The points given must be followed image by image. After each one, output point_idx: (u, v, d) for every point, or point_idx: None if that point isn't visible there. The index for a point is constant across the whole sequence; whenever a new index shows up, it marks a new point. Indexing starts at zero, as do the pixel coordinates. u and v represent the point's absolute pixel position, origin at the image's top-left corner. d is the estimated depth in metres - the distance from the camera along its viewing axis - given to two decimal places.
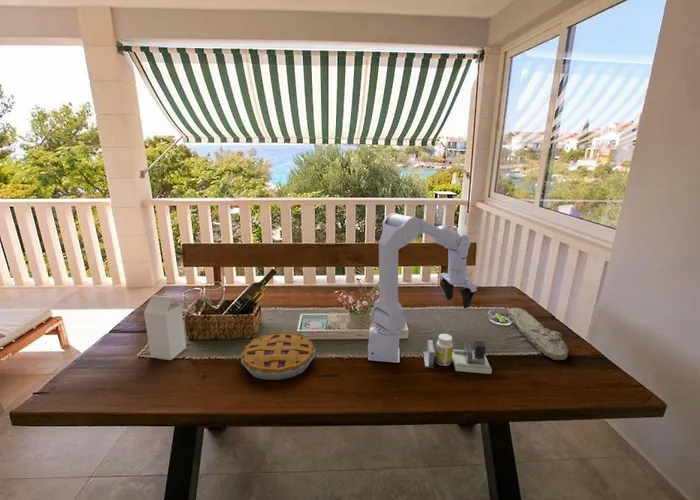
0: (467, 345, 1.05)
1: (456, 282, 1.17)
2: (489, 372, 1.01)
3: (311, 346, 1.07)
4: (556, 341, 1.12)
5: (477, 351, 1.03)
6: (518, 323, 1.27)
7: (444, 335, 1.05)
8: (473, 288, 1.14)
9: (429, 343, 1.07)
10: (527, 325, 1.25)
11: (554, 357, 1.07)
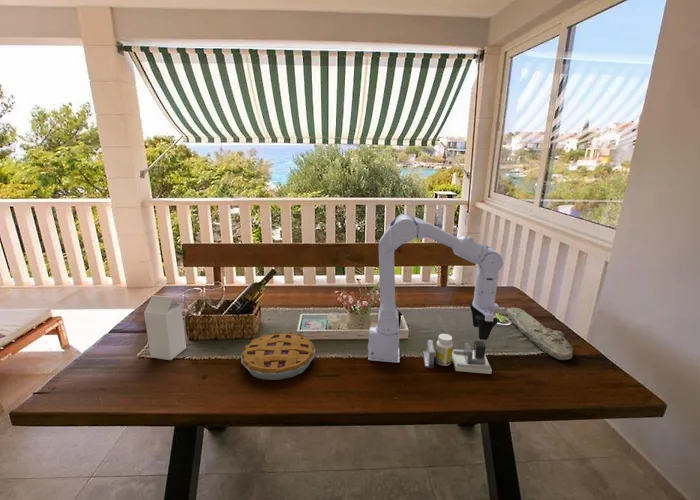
0: (467, 345, 1.05)
1: (476, 305, 1.00)
2: (489, 372, 1.01)
3: (311, 346, 1.07)
4: (560, 341, 1.12)
5: (477, 351, 1.03)
6: (519, 323, 1.27)
7: (444, 335, 1.05)
8: (487, 316, 0.95)
9: (429, 343, 1.07)
10: (528, 325, 1.25)
11: (560, 357, 1.07)
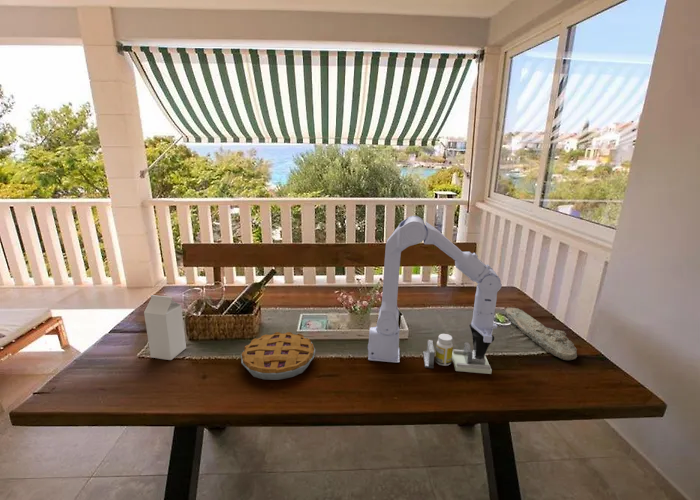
0: (467, 345, 1.05)
1: (475, 325, 1.01)
2: (489, 372, 1.01)
3: (311, 346, 1.07)
4: (563, 341, 1.13)
5: None
6: (520, 324, 1.27)
7: (444, 335, 1.05)
8: (485, 338, 0.95)
9: (429, 343, 1.07)
10: (529, 325, 1.25)
11: (565, 357, 1.07)
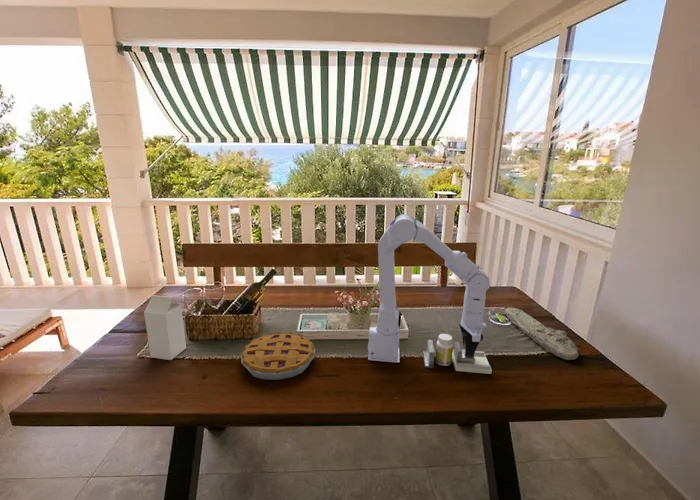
0: (457, 344, 1.06)
1: (464, 324, 1.01)
2: (489, 372, 1.01)
3: (311, 346, 1.07)
4: (564, 340, 1.13)
5: None
6: (520, 324, 1.27)
7: (444, 335, 1.05)
8: (474, 337, 0.96)
9: (429, 343, 1.07)
10: (529, 325, 1.25)
11: (567, 357, 1.07)
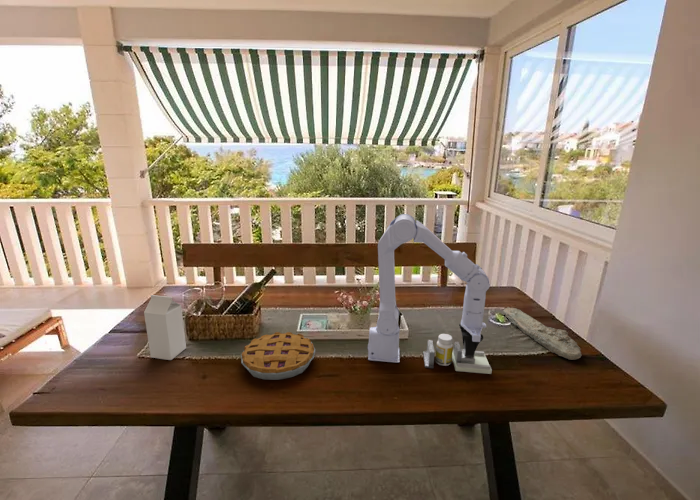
0: (457, 344, 1.06)
1: (464, 324, 1.01)
2: (489, 372, 1.01)
3: (311, 346, 1.07)
4: (566, 340, 1.13)
5: None
6: (520, 324, 1.26)
7: (444, 335, 1.05)
8: (474, 337, 0.96)
9: (429, 343, 1.07)
10: (530, 325, 1.25)
11: (571, 357, 1.07)
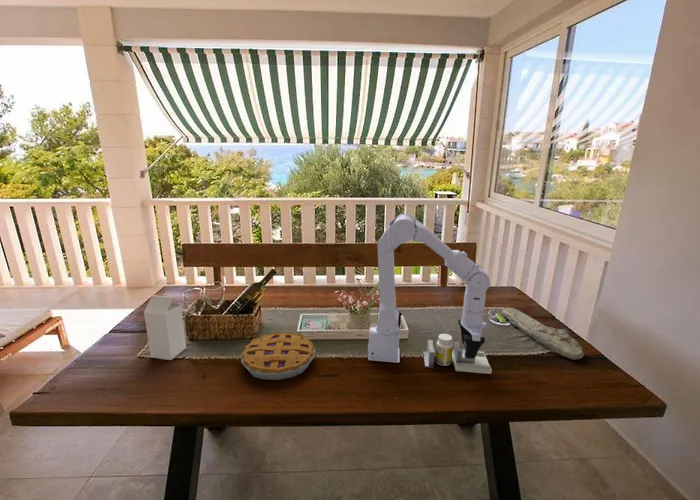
0: (457, 344, 1.06)
1: (464, 323, 1.01)
2: (489, 372, 1.01)
3: (311, 346, 1.07)
4: (568, 340, 1.13)
5: None
6: (520, 324, 1.26)
7: (444, 335, 1.05)
8: (474, 336, 0.96)
9: (429, 343, 1.07)
10: (530, 325, 1.24)
11: (573, 357, 1.08)
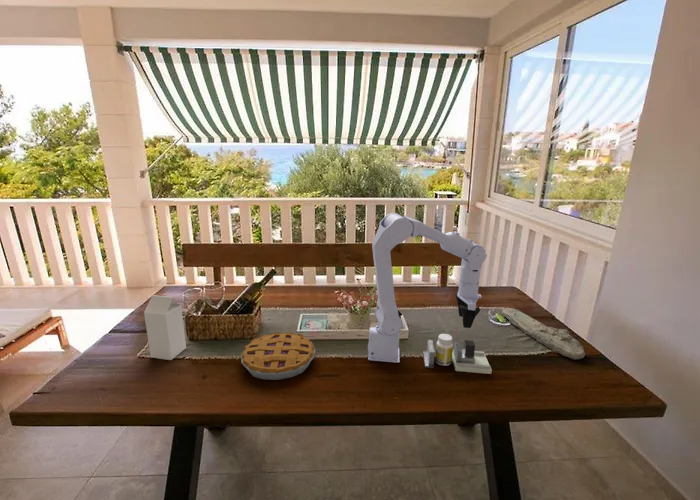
0: (457, 344, 1.06)
1: (460, 295, 1.07)
2: (489, 372, 1.01)
3: (311, 346, 1.07)
4: (569, 340, 1.13)
5: (467, 350, 1.03)
6: (521, 324, 1.26)
7: (444, 335, 1.05)
8: (470, 305, 1.02)
9: (429, 343, 1.07)
10: (531, 326, 1.24)
11: (575, 357, 1.08)
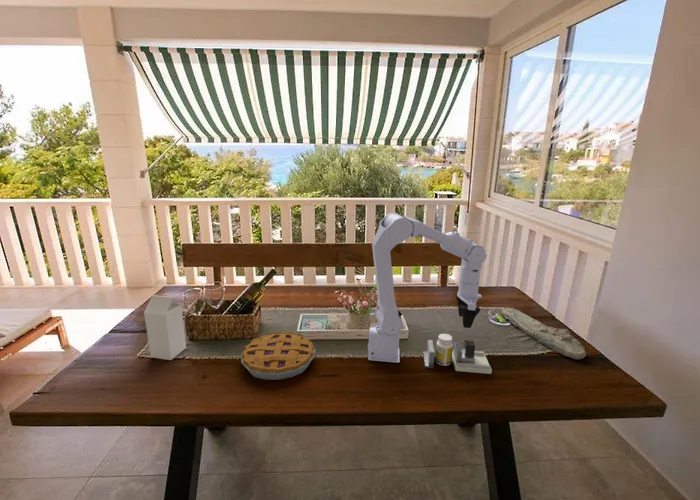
0: (457, 344, 1.06)
1: (460, 295, 1.07)
2: (489, 372, 1.01)
3: (311, 346, 1.07)
4: (570, 339, 1.13)
5: (467, 350, 1.03)
6: (521, 324, 1.26)
7: (444, 335, 1.05)
8: (470, 305, 1.02)
9: (429, 343, 1.07)
10: (531, 326, 1.24)
11: (576, 357, 1.08)
